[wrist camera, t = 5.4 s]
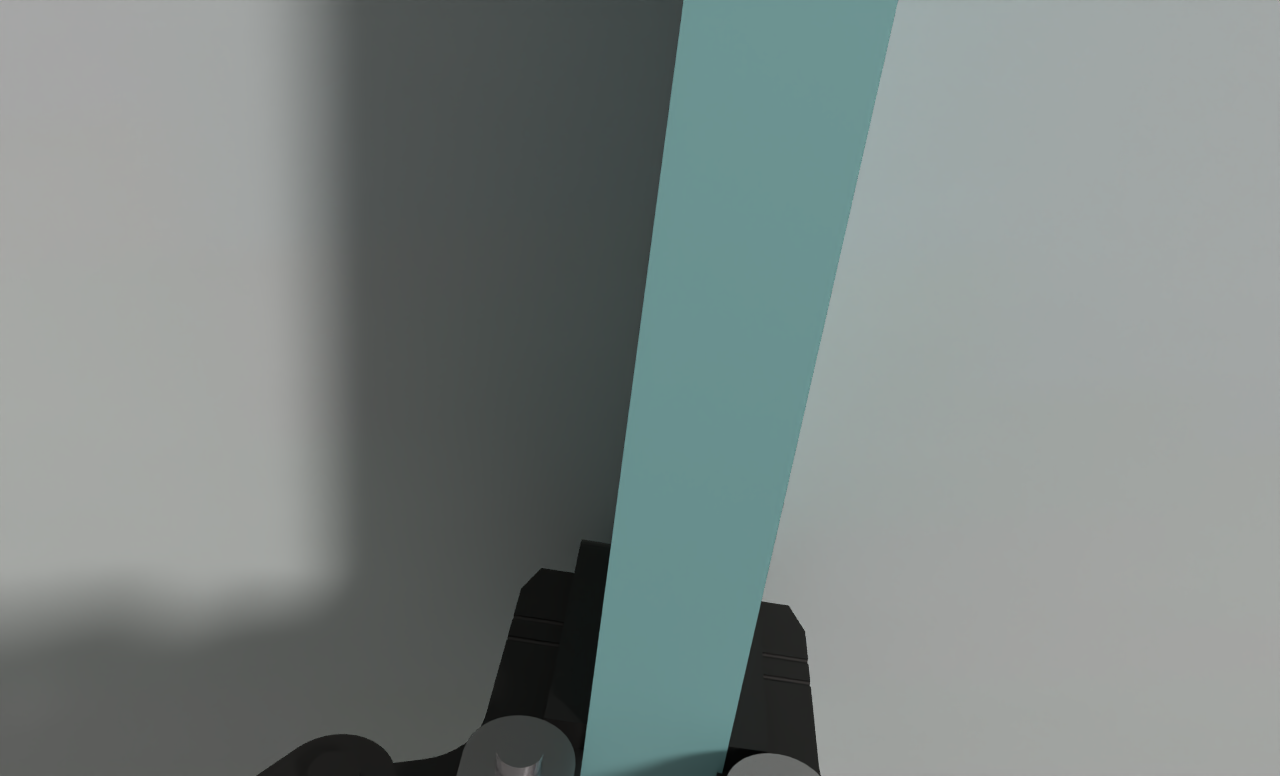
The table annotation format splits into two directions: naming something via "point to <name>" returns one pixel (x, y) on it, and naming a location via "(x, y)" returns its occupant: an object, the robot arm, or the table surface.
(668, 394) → the long teal stick
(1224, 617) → the table surface
